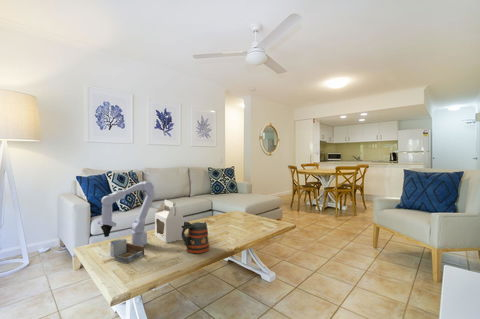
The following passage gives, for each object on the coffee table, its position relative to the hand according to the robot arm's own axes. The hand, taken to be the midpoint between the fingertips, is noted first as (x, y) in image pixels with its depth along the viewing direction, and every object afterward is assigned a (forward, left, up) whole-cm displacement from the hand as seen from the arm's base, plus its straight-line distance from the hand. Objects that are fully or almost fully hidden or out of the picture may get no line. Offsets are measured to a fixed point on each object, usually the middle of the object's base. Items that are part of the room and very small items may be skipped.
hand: (106, 236), depth 143 cm
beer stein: (-25, +49, -10) cm, 57 cm away
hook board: (0, +14, -10) cm, 17 cm away
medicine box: (-1, +9, -10) cm, 14 cm away
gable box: (-38, +16, -10) cm, 43 cm away
